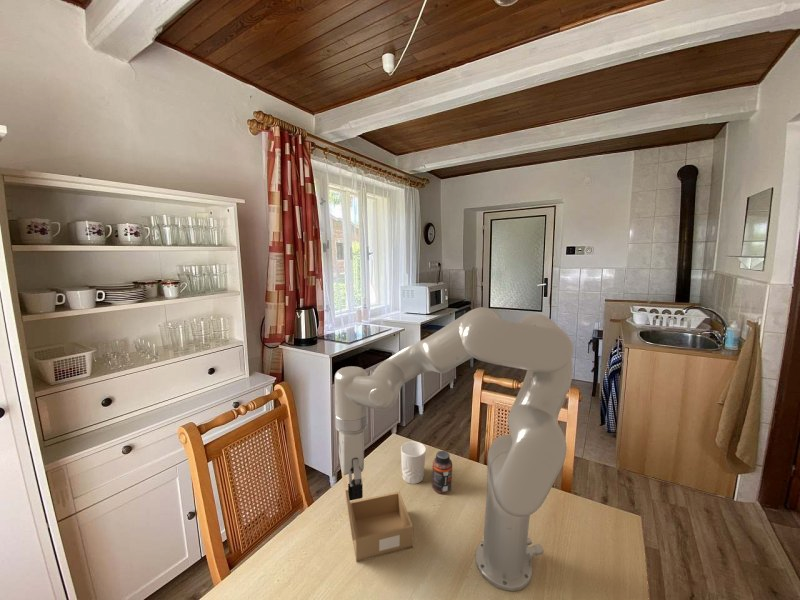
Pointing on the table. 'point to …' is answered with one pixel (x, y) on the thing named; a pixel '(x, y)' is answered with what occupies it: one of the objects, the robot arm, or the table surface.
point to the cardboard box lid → (348, 505)
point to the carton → (380, 526)
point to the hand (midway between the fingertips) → (352, 483)
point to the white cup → (413, 461)
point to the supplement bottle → (442, 472)
